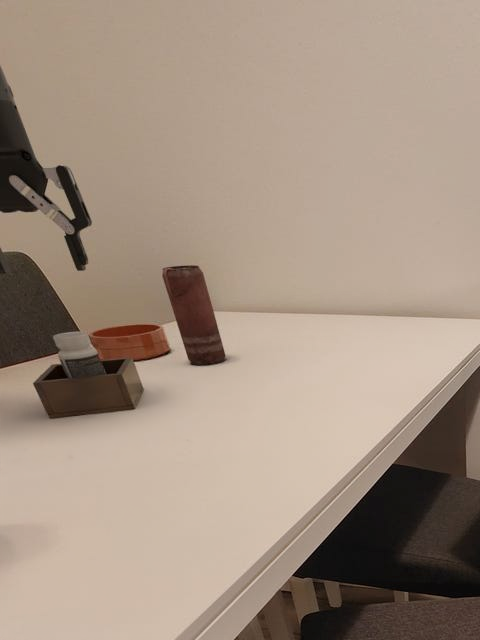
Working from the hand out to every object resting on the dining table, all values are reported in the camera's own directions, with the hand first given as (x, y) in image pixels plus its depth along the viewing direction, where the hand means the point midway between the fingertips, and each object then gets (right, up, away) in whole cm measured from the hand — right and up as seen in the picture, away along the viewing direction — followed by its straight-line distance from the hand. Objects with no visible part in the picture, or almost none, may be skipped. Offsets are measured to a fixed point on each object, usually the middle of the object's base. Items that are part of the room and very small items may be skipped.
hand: (44, 272), depth 74 cm
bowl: (-8, +6, +34) cm, 35 cm away
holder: (+1, -13, +10) cm, 16 cm away
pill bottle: (0, -12, +10) cm, 16 cm away
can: (+8, +2, +28) cm, 29 cm away
